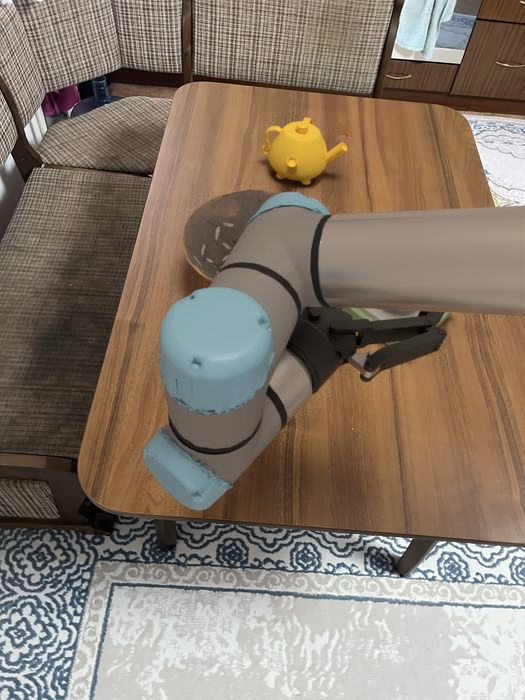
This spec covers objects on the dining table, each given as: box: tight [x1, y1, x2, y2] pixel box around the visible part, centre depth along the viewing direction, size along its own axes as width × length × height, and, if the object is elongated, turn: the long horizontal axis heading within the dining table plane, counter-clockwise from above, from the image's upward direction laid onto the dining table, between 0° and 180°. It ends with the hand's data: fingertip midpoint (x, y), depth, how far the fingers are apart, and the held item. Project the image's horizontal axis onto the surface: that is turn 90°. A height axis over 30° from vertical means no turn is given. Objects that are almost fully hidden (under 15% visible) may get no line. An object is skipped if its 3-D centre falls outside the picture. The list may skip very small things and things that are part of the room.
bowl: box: [181, 189, 281, 284], centre depth 93 cm, size 25×25×10 cm
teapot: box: [261, 116, 348, 186], centre depth 112 cm, size 14×14×11 cm
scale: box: [341, 307, 452, 346], centre depth 92 cm, size 14×13×3 cm
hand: (396, 255), depth 62 cm, fingers open, 13 cm apart
